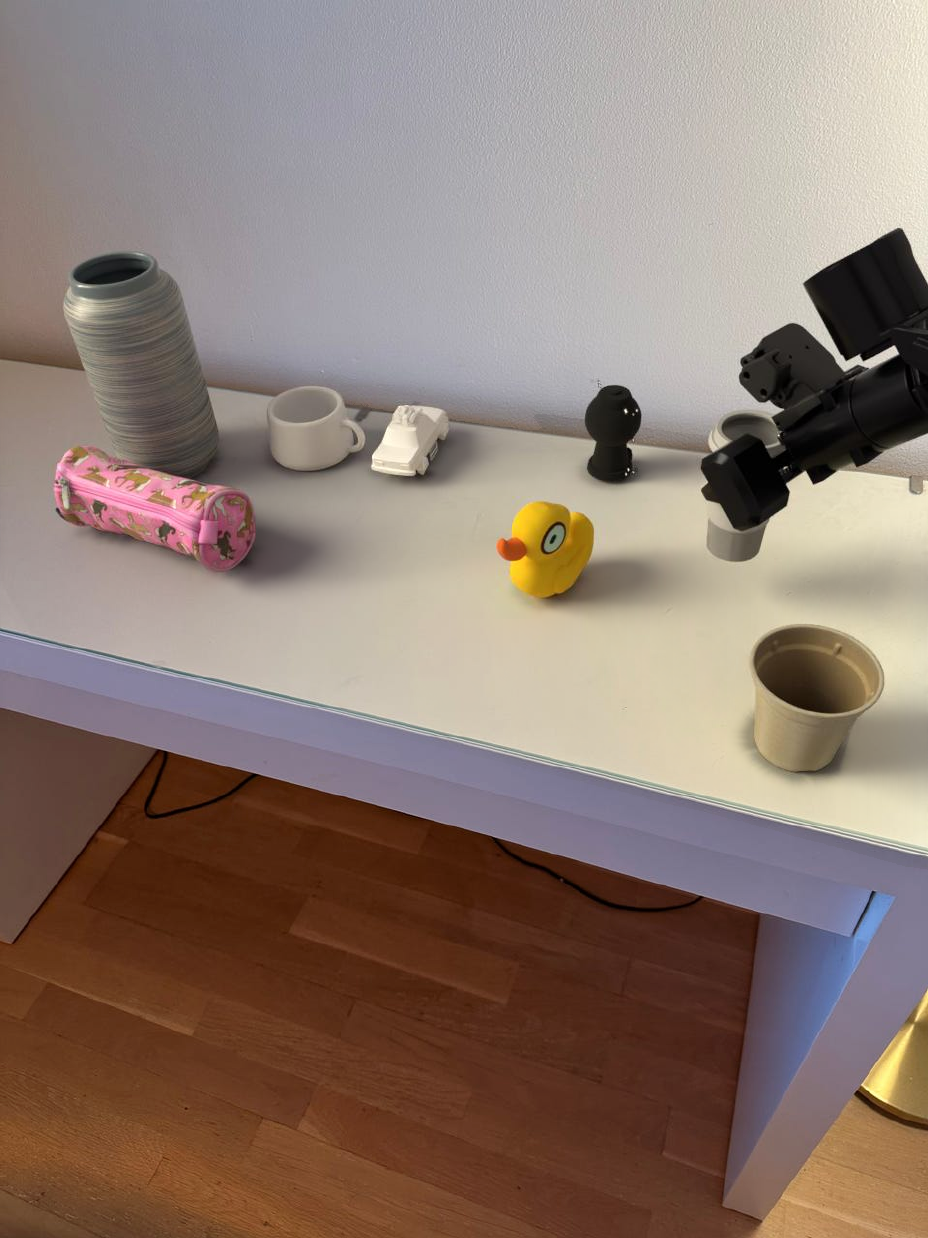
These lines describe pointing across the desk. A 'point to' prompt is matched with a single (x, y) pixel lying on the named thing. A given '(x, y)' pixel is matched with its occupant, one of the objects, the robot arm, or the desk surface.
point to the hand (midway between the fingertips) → (730, 477)
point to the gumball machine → (612, 432)
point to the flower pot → (810, 692)
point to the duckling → (547, 548)
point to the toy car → (410, 440)
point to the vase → (142, 362)
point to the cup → (720, 531)
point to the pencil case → (155, 507)
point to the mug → (311, 429)
